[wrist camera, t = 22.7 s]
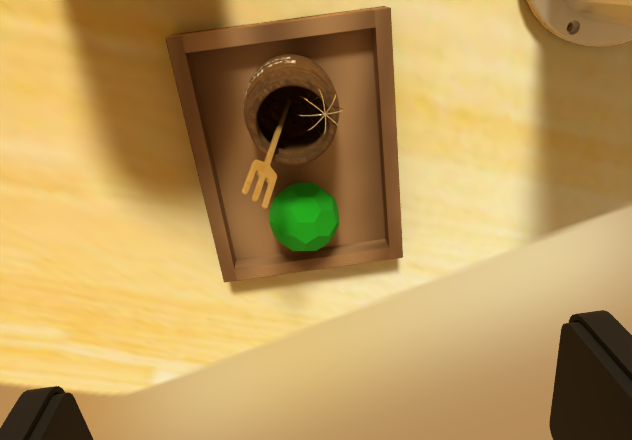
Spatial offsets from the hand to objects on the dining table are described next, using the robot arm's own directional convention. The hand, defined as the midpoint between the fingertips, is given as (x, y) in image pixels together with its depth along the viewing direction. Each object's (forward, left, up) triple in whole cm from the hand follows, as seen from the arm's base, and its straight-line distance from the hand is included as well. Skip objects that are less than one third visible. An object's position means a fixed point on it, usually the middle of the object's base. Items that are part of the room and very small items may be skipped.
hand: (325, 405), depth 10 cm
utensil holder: (0, 0, -28) cm, 28 cm away
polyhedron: (0, +8, -28) cm, 29 cm away
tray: (0, +4, -28) cm, 28 cm away
